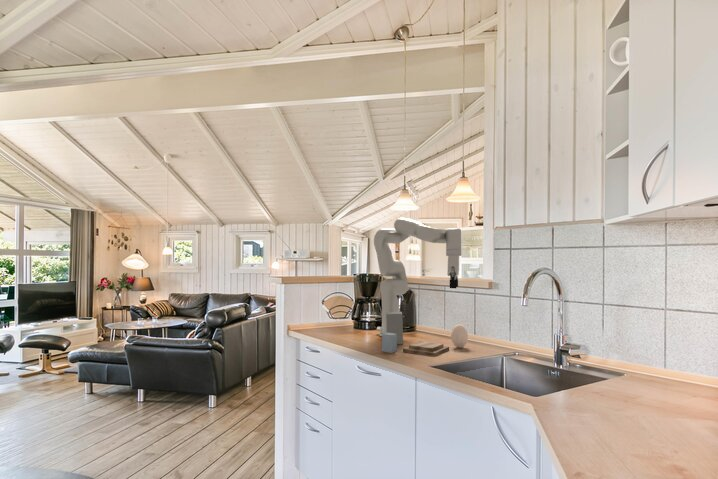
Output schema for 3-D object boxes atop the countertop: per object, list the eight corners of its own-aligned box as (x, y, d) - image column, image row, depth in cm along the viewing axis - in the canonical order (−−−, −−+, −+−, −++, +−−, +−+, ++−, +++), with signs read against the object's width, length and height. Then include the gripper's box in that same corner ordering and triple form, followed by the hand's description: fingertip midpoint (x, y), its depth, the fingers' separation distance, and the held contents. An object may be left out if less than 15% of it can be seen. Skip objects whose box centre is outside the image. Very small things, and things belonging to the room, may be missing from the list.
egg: (449, 348, 212) (449, 324, 212) (453, 345, 219) (453, 322, 219) (465, 350, 208) (465, 325, 209) (469, 347, 215) (469, 323, 216)
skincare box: (403, 342, 227) (403, 311, 227) (403, 345, 220) (403, 313, 220) (386, 342, 228) (386, 311, 228) (386, 344, 221) (386, 312, 221)
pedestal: (402, 351, 204) (402, 345, 204) (418, 346, 217) (418, 340, 217) (434, 356, 195) (434, 349, 195) (449, 350, 208) (449, 343, 208)
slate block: (382, 351, 205) (382, 334, 205) (387, 349, 209) (387, 332, 210) (391, 352, 202) (391, 335, 203) (396, 350, 206) (396, 333, 207)
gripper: (447, 253, 229) (448, 286, 228) (444, 252, 212) (444, 288, 212) (462, 253, 226) (462, 286, 226) (460, 253, 210) (460, 289, 209)
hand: (453, 287), depth 219 cm, fingers open, 9 cm apart
